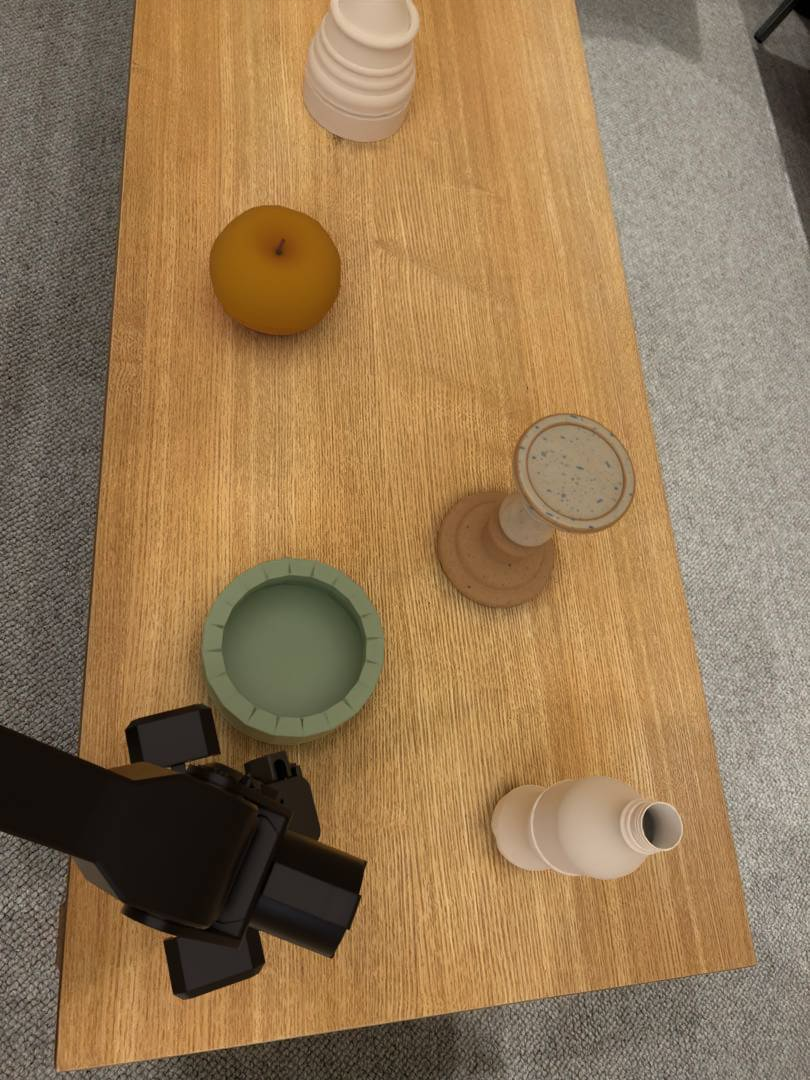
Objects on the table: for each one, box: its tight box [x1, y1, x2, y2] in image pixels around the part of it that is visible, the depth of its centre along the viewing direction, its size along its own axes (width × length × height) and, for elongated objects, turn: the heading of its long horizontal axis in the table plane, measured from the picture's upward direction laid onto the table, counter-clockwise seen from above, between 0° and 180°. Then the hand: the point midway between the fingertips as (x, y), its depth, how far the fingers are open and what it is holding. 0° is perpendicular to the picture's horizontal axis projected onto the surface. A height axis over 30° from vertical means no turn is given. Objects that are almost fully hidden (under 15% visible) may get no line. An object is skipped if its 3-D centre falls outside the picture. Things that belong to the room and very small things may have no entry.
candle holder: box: [437, 412, 637, 609], centre depth 73 cm, size 12×12×20 cm
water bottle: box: [490, 774, 684, 881], centre depth 63 cm, size 7×7×25 cm
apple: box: [208, 204, 342, 336], centre depth 81 cm, size 13×13×11 cm
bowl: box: [200, 557, 385, 746], centre depth 71 cm, size 15×15×7 cm
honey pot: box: [301, 0, 421, 143], centre depth 90 cm, size 13×13×18 cm
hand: (195, 841), depth 65 cm, fingers open, 3 cm apart
